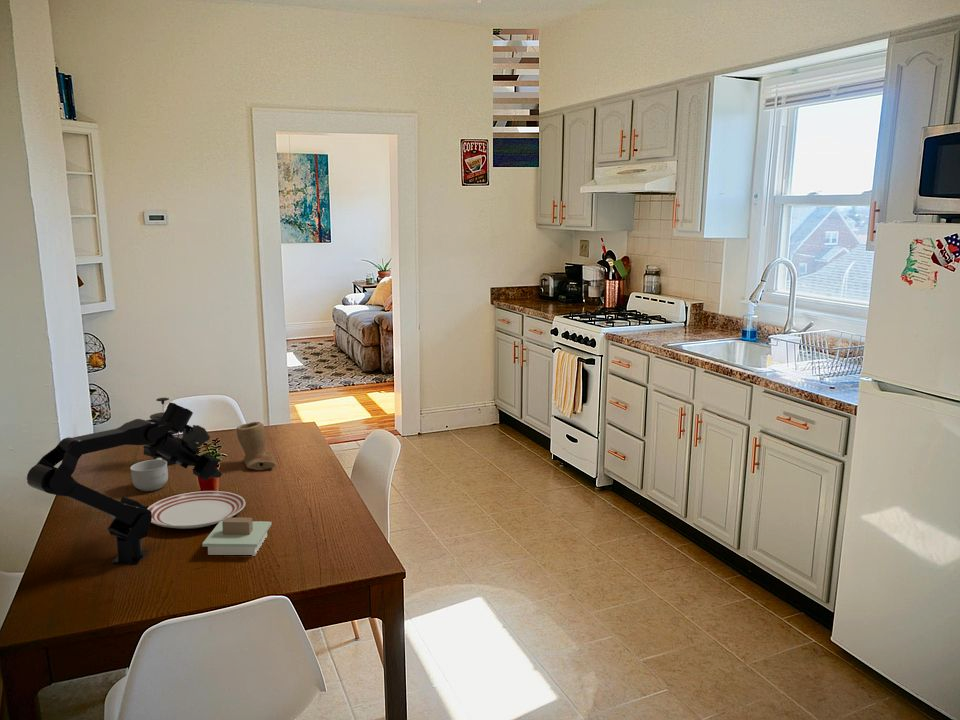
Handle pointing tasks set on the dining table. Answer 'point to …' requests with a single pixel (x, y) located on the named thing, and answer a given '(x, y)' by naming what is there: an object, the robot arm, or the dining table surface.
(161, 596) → the dining table surface
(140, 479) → the teacup
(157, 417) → the french press
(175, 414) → the robot arm
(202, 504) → the dinner plate
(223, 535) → the cover
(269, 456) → the beige boot
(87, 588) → the dining table surface
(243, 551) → the dish
